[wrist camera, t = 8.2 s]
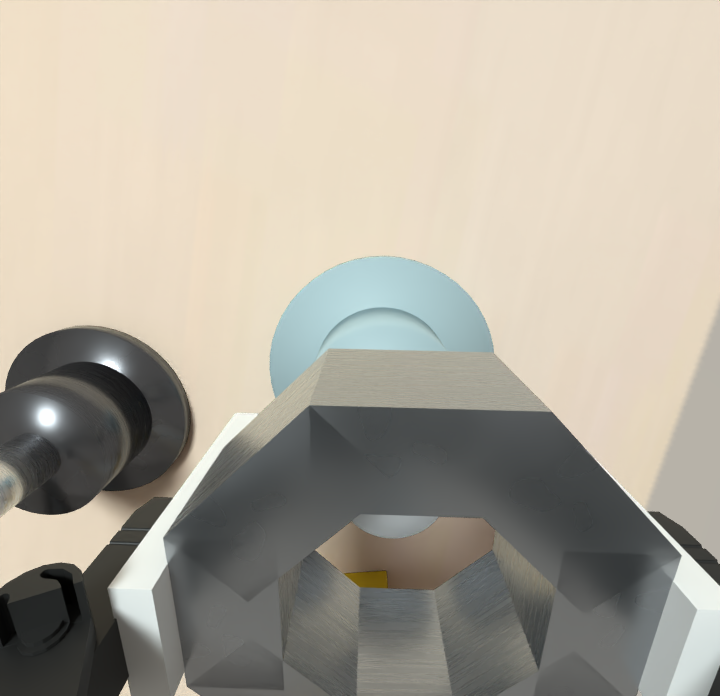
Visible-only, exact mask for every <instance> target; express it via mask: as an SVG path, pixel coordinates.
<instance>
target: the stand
mask: <svg viewBox="0 0 720 696" xmlns="http://www.w3.org/2000/svg"><path fill="white" fill-rule="evenodd" d="M189 429H190V409H189V404H188V400H187V397H186V394H185V391H184V389H183V386H182V384H181V382H180V380H179V379H178V377H177V376H176V374H175V372H174V371H173V370H172V368H171V367H170V366H169V365H168V363H167V362H166V361H165V360H164V359H163V358H162V357H161V356H160V355H159V354H158V353H157V352H155V351H154V350H153V349H151V348H150V347H149V346H148V345H146V344H145V343H143V342H141V341H140V340H138V339H136V338H134V337H132V336H130V335H128V334H126V333H123V332H120V331H117V330H114V329H110V328H105V327H100V326H75V327H69V328H65V329H62V330H58V331H55V332H52V333H49V334H46V335H44V336H42V337H40V338H38V339H36V340H34V341H33V342H31V343H30V344H29V345H27V346H26V347H25V348H24V349H23V350H22V351H21V352H20V353H19V354H18V356H17V357H16V359H15V360H14V362H13V363H12V365H11V368H10V370H9V372H8V376H7V380H6V387H5V391H4V392H2V393H0V517H1V516H3V515H4V514H5V513H6V512H8V511H9V510H10V509H11V508H13V507H14V506H15V507H17V508H20V509H22V510H25V511H29V512H32V513H38V514H47V515H57V514H64V513H69V512H72V511H75V510H77V509H80V508H81V507H83V506H85V505H86V504H87V503H89V502H90V501H91V500H92V499H93V498H94V497H95V496H96V495H97V494H98V493H99V492H100V491H101V490H105V491H122V490H128V489H133V488H137V487H140V486H143V485H145V484H148V483H150V482H152V481H153V480H155V479H157V478H158V477H159V476H161V475H162V474H163V473H164V472H165V471H166V470H167V469H168V468H169V467H170V466H171V465H172V464H173V462H174V461H175V460H176V459H177V458H178V456H179V455H180V453H181V452H182V450H183V448H184V446H185V444H186V441H187V438H188V434H189Z"/></svg>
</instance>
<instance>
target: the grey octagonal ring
mask: <svg viewBox="0 0 720 696" xmlns="http://www.w3.org/2000/svg"><path fill="white" fill-rule="evenodd" d="M360 514H371V515H402V516H433V517H464V518H483V519H485V520H486V521H487V522H488V523H489V524H490V525H491V526H492V527H493V528H494V529H495V536H494V543H493V550H491V551H490V552H489V553H487V554H486V555H484V556H483V557H481V558H480V559H478V560H477V561H475V562H474V563H473V564H471V565H470V566H468V567H467V568H465V569H464V570H462V571H461V572H459V573H458V574H456V575H455V576H454V577H452V578H451V579H449V580H448V581H446V582H445V583H443V584H442V585H440V586H439V587H438V588H436V589H435V590H417V589H390V588H362V587H359V586H357V585H356V584H355V583H354V582H353V581H351V580H350V579H349V578H348V577H347V576H345V575H344V574H343V573H342V572H340V571H339V570H338V569H337V568H336V567H334V566H333V565H332V564H331V563H330V562H328V561H327V560H326V559H325V558H324V557H322V556H321V555H320V554H319V553H317V552H316V551H315V549H317V548H318V547H319V546H320V545H322V544H323V543H324V542H325V541H327V540H328V539H329V538H331V537H332V536H333V535H334V534H336V533H337V532H338V531H339V530H341V529H342V528H343V527H345V526H346V525H347V524H348V523H350V522H351V521H352V520H353V519H355V518H356V517H357V516H359V515H360ZM163 541H164V547H165V553H166V560H167V563H168V568H169V574H170V580H171V587H172V593H173V599H174V605H175V612H176V618H177V624H178V631H179V637H180V643H181V649H182V656H183V662H184V668H185V671H184V672H185V678H186V684H187V687H188V688H190V689H191V690H193V691H194V692H196V693H197V694H199V695H200V696H636V695H637V692H638V687H639V684H640V681H641V678H642V674H643V671H644V668H645V665H646V662H647V659H648V656H649V653H650V650H651V647H652V643H653V640H654V637H655V634H656V631H657V628H658V625H659V622H660V619H661V616H662V613H663V609H664V606H665V603H666V600H667V597H668V594H669V591H670V588H671V585H672V582H673V581H674V578H675V575H676V572H677V569H678V566H679V563H680V560H681V556H682V555H681V554H680V553H679V552H678V550H677V549H676V548H675V547H674V546H673V545H672V544H671V543H670V542H669V541H668V539H667V538H666V537H665V536H664V535H663V534H662V533H661V532H660V531H659V530H658V528H657V527H656V526H655V525H654V524H653V523H652V522H651V521H650V520H649V518H648V517H647V516H646V515H645V514H644V513H643V512H642V511H641V510H640V509H639V507H638V506H637V505H636V504H635V503H634V502H633V501H632V500H631V499H630V497H629V496H628V495H627V494H626V493H625V492H624V491H623V490H622V489H621V488H620V486H619V485H618V484H617V483H616V482H615V481H614V480H613V479H612V478H611V477H610V475H609V474H608V473H607V472H606V471H605V470H604V469H603V468H602V467H601V465H600V464H599V463H598V462H597V461H596V460H595V459H594V458H593V457H592V456H591V454H590V453H589V452H588V451H587V450H586V449H585V448H584V447H583V446H582V444H581V443H580V442H579V441H578V440H577V439H576V438H575V437H574V436H573V435H572V433H571V432H570V431H569V430H568V429H567V428H566V427H565V426H564V425H563V424H562V422H561V421H560V420H559V419H558V418H557V417H556V416H555V415H554V414H553V412H552V411H551V410H550V409H549V408H548V407H547V406H546V405H545V404H544V403H543V402H542V401H541V400H540V399H539V398H538V397H537V396H536V395H535V394H534V393H533V392H532V391H531V390H530V389H529V388H528V387H527V386H526V385H525V384H524V383H523V382H522V381H521V380H520V379H519V378H518V377H517V376H516V375H515V374H514V373H513V372H512V371H511V370H510V369H509V368H508V367H507V366H506V365H505V364H504V363H503V362H502V361H501V360H500V359H499V358H498V357H497V356H496V355H495V354H494V353H493V352H457V351H416V350H374V349H333V348H329V349H328V350H327V351H326V352H324V353H323V354H322V355H321V356H320V357H319V358H318V359H317V360H316V361H315V362H314V363H313V364H312V365H311V366H310V367H308V368H307V369H306V370H305V371H304V372H303V373H302V374H301V375H300V376H299V377H298V378H297V379H296V380H295V381H294V382H293V383H291V384H290V385H289V386H288V387H287V388H286V389H285V390H284V391H283V392H282V393H281V394H280V395H279V396H278V397H277V398H275V399H274V400H273V401H272V402H271V403H270V404H269V405H268V406H267V407H266V408H265V409H264V410H263V411H262V412H261V413H259V414H258V415H257V416H256V417H255V418H254V419H253V420H252V421H251V422H250V423H249V424H248V425H247V426H246V427H245V428H244V429H242V430H241V431H240V432H239V433H238V434H237V435H236V436H235V437H234V438H233V439H232V440H231V441H230V442H229V443H228V444H226V445H225V446H224V448H223V449H222V451H221V452H220V454H219V455H218V457H217V458H216V460H215V461H214V462H213V464H212V465H211V467H210V468H209V470H208V471H207V473H206V474H205V476H204V477H203V479H202V480H201V482H200V483H199V485H198V486H197V488H196V489H195V491H194V492H193V494H192V495H191V497H190V498H189V500H188V501H187V503H186V504H185V506H184V507H183V509H182V510H181V512H180V513H179V515H178V516H177V518H176V519H175V521H174V522H173V524H172V525H171V527H170V528H169V530H168V531H167V533H166V534H165V536H164V537H163Z"/></svg>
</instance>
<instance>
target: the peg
mask: <svg viewBox="0 0 720 696" xmlns="http://www.w3.org/2000/svg"><path fill="white" fill-rule="evenodd" d="M329 348H333V349H374V350H416V351H457V352H493V353H494V349H493V343H492V339H491V334H490V331H489V328H488V326H487V323H486V321H485V318H484V317H483V315H482V313H481V311H480V310H479V308H478V306H477V305H476V304H475V302H474V301H473V300H472V298H471V297H470V296H469V294H468V293H467V292H466V291H464V290H463V289H462V288H461V287H460V286H459V285H458V284H457V283H456V282H454V281H453V280H452V279H450V278H449V277H448V276H446V275H445V274H443V273H441V272H439V271H437V270H436V269H434V268H432V267H430V266H428V265H425V264H422V263H420V262H417V261H414V260H410V259H405V258H401V257H390V256H375V257H365V258H360V259H354V260H351V261H348V262H345V263H342V264H339V265H337V266H335V267H333V268H331V269H329V270H327V271H325V272H324V273H322V274H321V275H319V276H318V277H316V278H315V279H313V280H312V281H311V282H310V283H309V284H308V285H306V286H305V287H304V288H303V289H302V290H301V291H300V292H299V293H298V294H297V295H296V297H295V298H294V299H293V300H292V301H291V302H290V304H289V305H288V307H287V308H286V310H285V312H284V313H283V315H282V317H281V319H280V321H279V323H278V325H277V327H276V331H275V334H274V337H273V340H272V346H271V352H270V375H271V383H272V387H273V391H274V395H275V397H276V398H277V397H278V396H279V395H280V394H281V393H282V392H283V391H284V390H285V389H286V388H287V387H288V386H289V385H290V384H291V383H293V382H294V381H295V380H296V379H297V378H298V377H299V376H300V375H301V374H302V373H303V372H304V371H305V370H306V369H307V368H308V367H310V366H311V365H312V364H313V363H314V362H315V361H316V360H317V359H318V358H319V357H320V356H321V355H322V354H323V353H324V352H326V351H327V350H328V349H329ZM437 518H438V517H433V516H402V515H371V514H360V515H359V516H357V517H356V518H355V519H353V520H352V522H353V523H354V524H355V525H356V526H358V527H359V528H360V529H362V530H363V531H365V532H367V533H369V534H372V535H375V536H378V537H383V538H404V537H408V536H412V535H415V534H417V533H419V532H421V531H423V530H425V529H426V528H428V527H429V526H430V525H431V524H433V523H434V522H435V520H436V519H437Z"/></svg>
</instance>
